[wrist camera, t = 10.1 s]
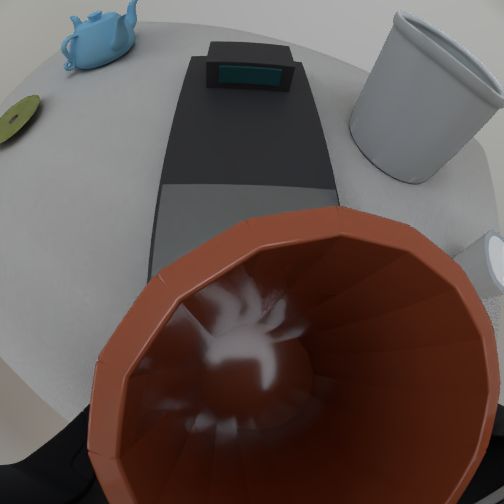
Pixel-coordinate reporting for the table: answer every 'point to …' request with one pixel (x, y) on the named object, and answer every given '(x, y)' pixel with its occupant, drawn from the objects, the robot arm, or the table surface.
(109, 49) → the teapot
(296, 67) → the scale
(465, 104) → the utensil holder
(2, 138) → the mat
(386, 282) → the cup
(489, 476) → the robot arm
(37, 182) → the table surface
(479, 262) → the shot glass
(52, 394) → the table surface
